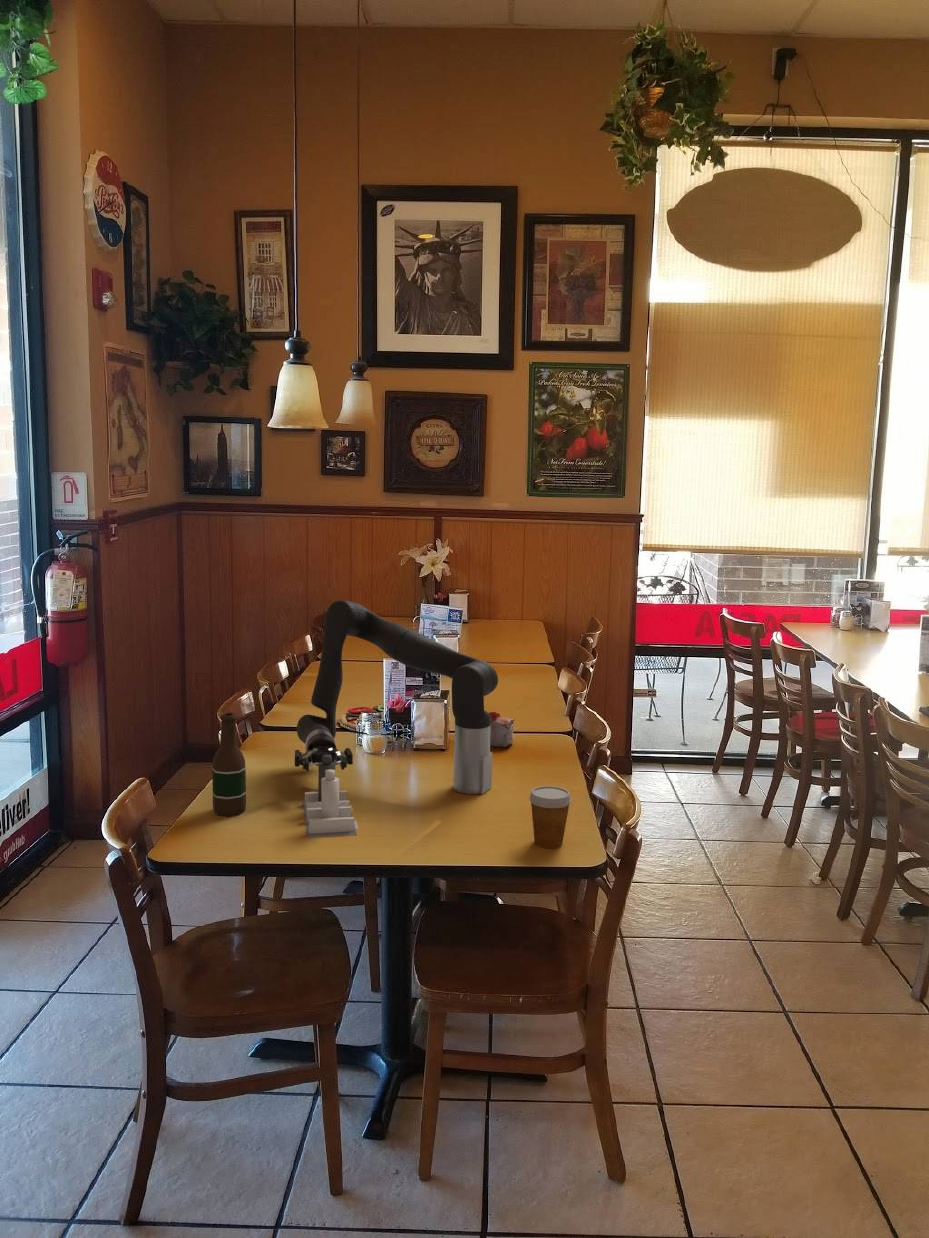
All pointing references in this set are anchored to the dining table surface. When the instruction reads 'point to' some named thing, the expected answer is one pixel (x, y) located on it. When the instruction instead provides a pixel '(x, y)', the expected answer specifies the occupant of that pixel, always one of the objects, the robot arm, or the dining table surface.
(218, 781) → the beer bottle
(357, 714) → the toy pizza
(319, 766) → the dark grey bottle
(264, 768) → the dining table surface
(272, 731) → the dining table surface
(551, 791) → the disposable coffee cup
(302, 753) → the robot arm
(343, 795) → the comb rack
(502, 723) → the food item
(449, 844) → the dining table surface
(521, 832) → the dining table surface
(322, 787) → the white bottle
